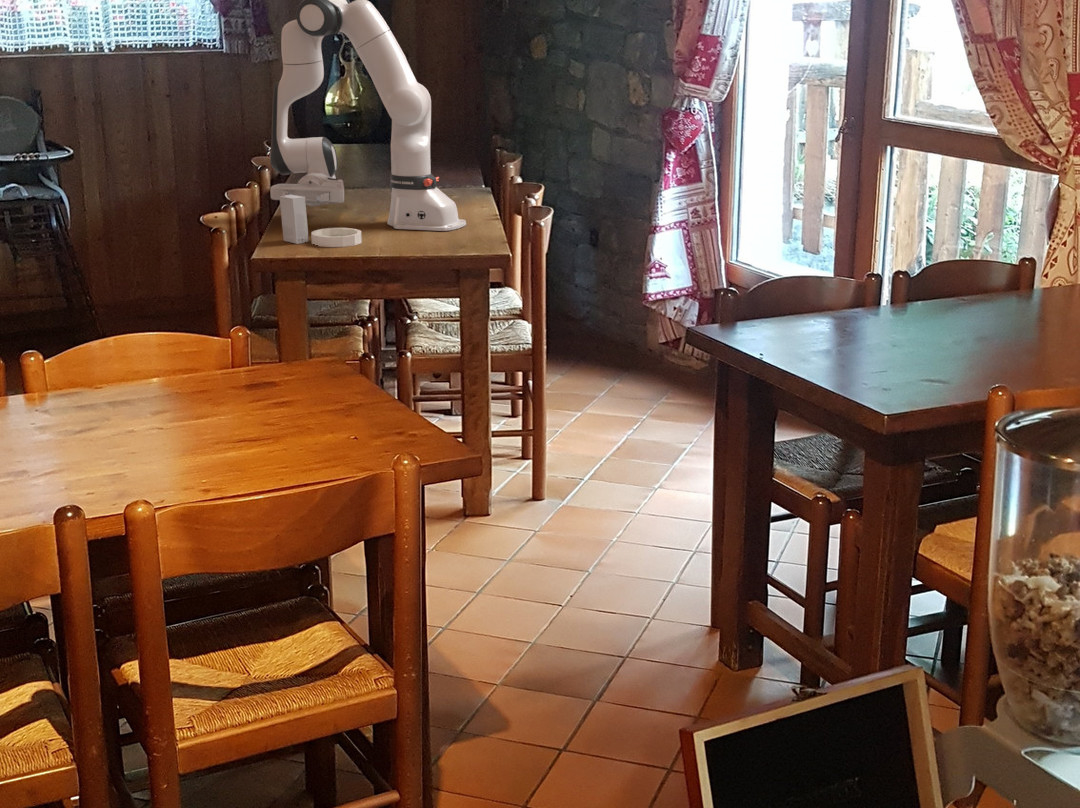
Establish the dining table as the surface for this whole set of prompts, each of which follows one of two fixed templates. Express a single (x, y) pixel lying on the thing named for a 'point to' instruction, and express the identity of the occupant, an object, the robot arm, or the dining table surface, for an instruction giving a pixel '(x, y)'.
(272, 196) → the robot arm
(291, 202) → the skincare box
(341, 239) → the ring dish
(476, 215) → the dining table surface
